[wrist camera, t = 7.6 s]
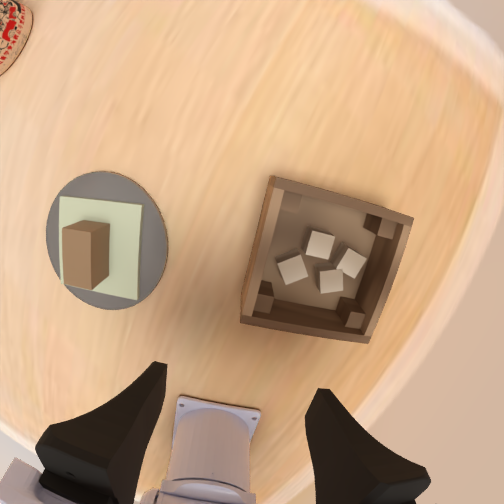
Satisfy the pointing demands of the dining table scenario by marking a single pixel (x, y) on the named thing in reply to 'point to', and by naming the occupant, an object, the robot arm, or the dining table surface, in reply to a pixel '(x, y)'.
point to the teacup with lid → (13, 31)
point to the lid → (101, 245)
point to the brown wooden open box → (321, 262)
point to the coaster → (152, 233)
